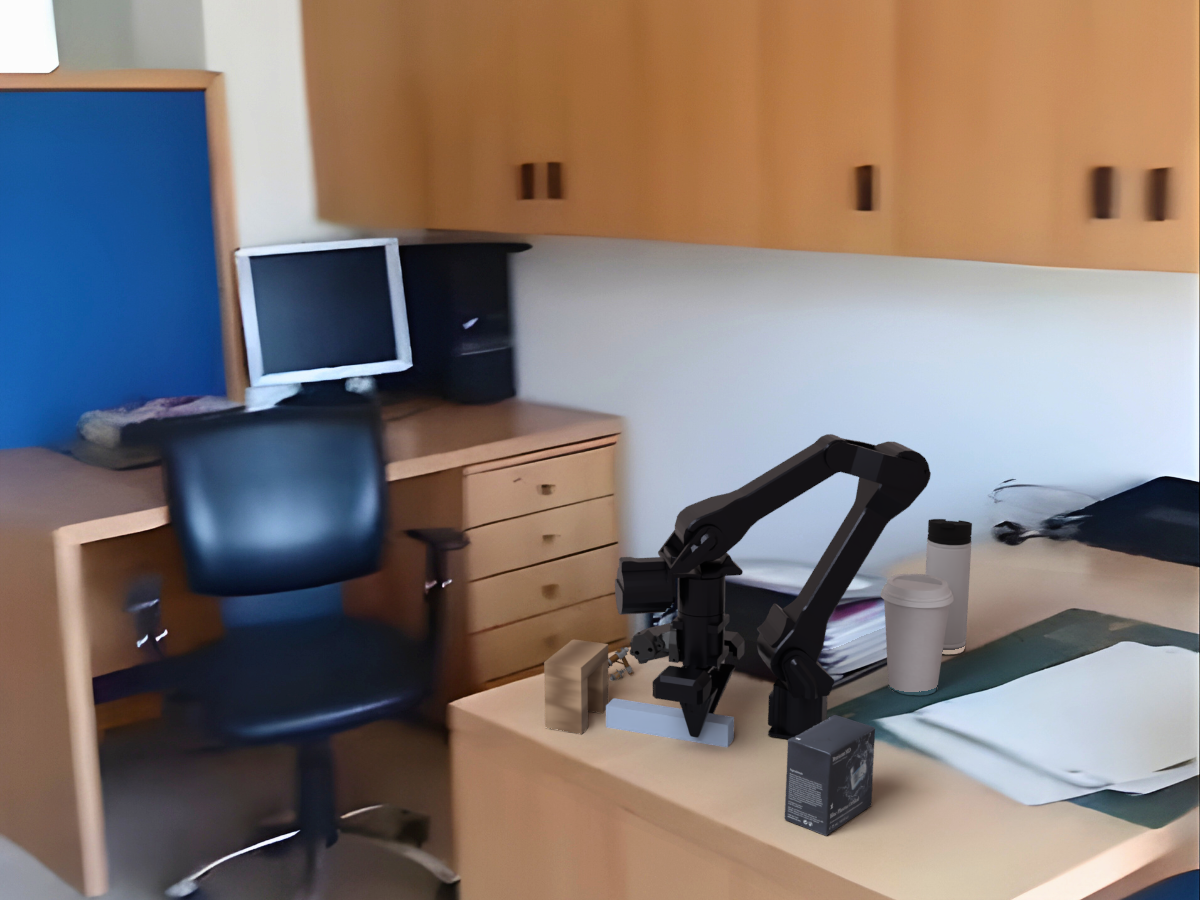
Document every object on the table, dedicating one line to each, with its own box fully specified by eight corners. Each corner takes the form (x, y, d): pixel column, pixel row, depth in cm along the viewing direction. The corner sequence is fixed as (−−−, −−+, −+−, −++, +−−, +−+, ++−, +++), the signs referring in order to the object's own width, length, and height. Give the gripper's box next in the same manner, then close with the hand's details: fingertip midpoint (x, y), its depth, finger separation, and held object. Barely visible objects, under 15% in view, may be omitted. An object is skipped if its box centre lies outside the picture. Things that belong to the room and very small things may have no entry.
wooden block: (608, 707, 163) (608, 644, 162) (581, 734, 155) (581, 667, 154) (573, 702, 165) (572, 639, 164) (545, 728, 157) (544, 662, 155)
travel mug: (918, 653, 183) (925, 521, 179) (925, 639, 189) (931, 511, 185) (962, 658, 180) (970, 525, 177) (967, 644, 186) (974, 514, 183)
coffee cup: (963, 689, 169) (969, 583, 166) (919, 706, 163) (924, 597, 160) (905, 669, 177) (910, 567, 174) (862, 685, 171) (866, 580, 168)
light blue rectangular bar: (733, 741, 154) (734, 717, 153) (727, 749, 151) (728, 725, 151) (613, 721, 160) (613, 698, 159) (605, 729, 157) (605, 705, 157)
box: (827, 838, 130) (830, 753, 128) (782, 821, 133) (785, 738, 131) (873, 807, 136) (877, 726, 134) (830, 791, 140) (832, 712, 138)
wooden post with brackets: (640, 671, 174) (629, 645, 172) (593, 702, 171) (581, 676, 170) (634, 667, 176) (623, 641, 174) (588, 698, 173) (575, 672, 171)
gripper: (664, 581, 162) (663, 693, 165) (611, 625, 145) (611, 749, 148) (746, 590, 158) (744, 706, 161) (702, 637, 141) (700, 765, 144)
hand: (699, 730), depth 154 cm, fingers open, 4 cm apart
